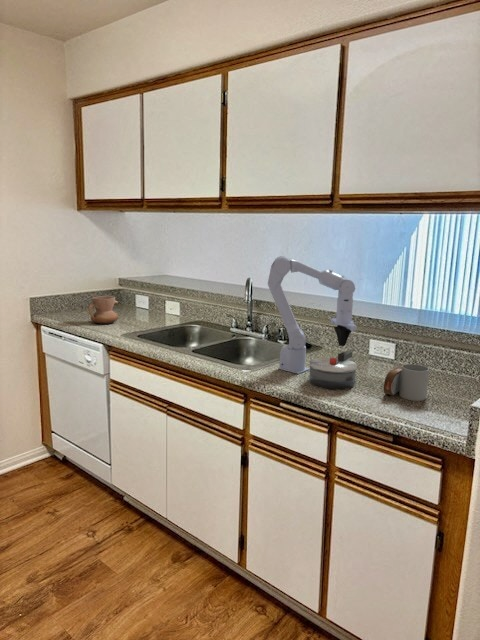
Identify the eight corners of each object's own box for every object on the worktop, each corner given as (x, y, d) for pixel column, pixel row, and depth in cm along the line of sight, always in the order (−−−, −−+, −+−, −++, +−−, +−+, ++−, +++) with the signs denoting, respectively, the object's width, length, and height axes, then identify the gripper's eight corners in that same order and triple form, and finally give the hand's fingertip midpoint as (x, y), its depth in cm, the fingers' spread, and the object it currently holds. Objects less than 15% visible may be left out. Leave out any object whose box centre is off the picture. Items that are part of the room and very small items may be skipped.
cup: (429, 396, 163) (433, 367, 161) (420, 402, 157) (423, 372, 155) (405, 390, 168) (408, 362, 166) (395, 396, 162) (397, 367, 160)
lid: (343, 376, 162) (344, 367, 161) (301, 366, 172) (301, 358, 171) (369, 363, 178) (370, 355, 178) (329, 354, 188) (330, 347, 188)
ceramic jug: (110, 318, 278) (109, 294, 275) (125, 322, 268) (124, 296, 266) (82, 323, 265) (80, 297, 262) (97, 327, 255) (95, 300, 252)
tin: (399, 386, 173) (401, 363, 171) (407, 388, 171) (410, 364, 169) (381, 396, 161) (383, 372, 160) (390, 399, 159) (393, 374, 158)
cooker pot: (300, 382, 173) (301, 366, 172) (329, 370, 189) (330, 355, 188) (341, 393, 163) (342, 376, 162) (368, 379, 179) (369, 363, 178)
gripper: (364, 313, 178) (362, 349, 180) (342, 306, 191) (340, 340, 194) (348, 314, 175) (345, 350, 178) (327, 307, 188) (325, 341, 191)
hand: (342, 345), depth 185 cm, fingers closed
